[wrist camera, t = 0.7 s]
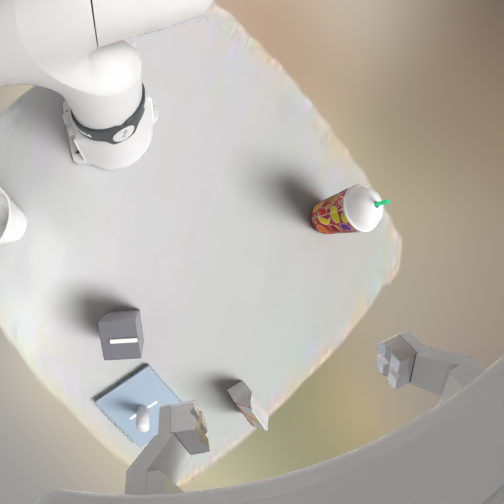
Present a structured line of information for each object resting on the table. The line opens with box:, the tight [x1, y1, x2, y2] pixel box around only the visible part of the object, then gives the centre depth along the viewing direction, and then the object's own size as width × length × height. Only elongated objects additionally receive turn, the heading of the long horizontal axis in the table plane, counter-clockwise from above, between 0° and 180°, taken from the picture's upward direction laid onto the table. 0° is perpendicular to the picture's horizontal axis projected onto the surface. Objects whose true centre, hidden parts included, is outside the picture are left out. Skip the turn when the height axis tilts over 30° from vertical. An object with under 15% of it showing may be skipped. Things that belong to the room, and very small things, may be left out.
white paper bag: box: [227, 380, 268, 431], centre depth 48 cm, size 4×7×10 cm, turn 29°
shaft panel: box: [95, 364, 182, 447], centre depth 43 cm, size 13×14×8 cm
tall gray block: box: [98, 310, 144, 360], centre depth 42 cm, size 6×6×10 cm
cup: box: [0, 188, 27, 244], centre depth 35 cm, size 10×10×11 cm
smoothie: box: [311, 184, 389, 234], centre depth 51 cm, size 8×8×20 cm
